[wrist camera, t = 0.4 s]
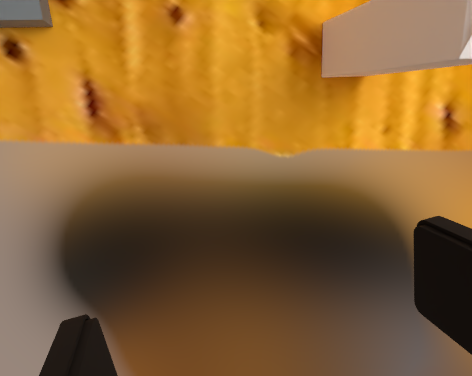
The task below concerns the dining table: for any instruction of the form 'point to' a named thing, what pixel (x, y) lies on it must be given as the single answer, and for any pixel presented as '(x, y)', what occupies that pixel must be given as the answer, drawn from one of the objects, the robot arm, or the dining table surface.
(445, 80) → the dining table surface
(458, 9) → the milk
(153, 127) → the dining table surface
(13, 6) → the board
